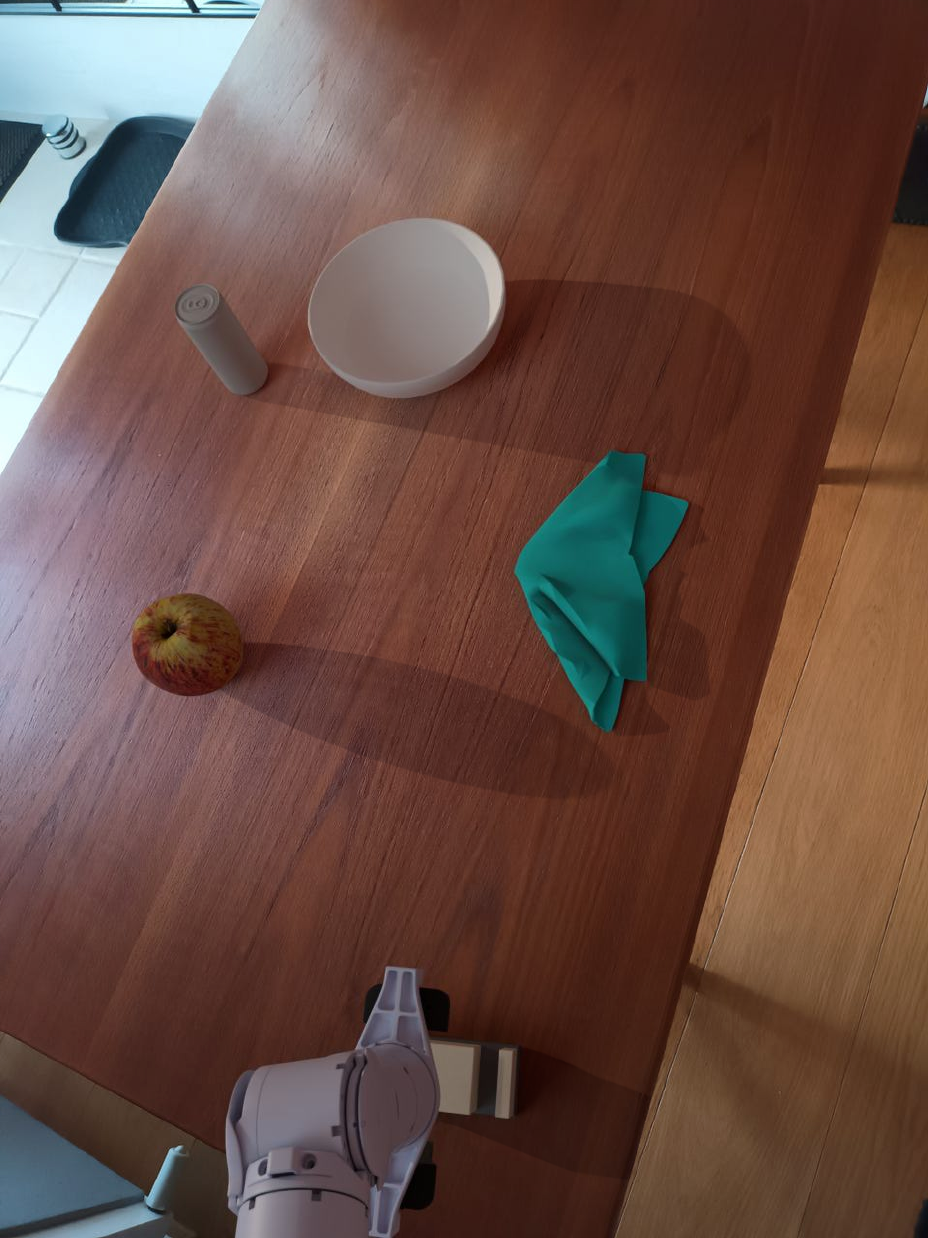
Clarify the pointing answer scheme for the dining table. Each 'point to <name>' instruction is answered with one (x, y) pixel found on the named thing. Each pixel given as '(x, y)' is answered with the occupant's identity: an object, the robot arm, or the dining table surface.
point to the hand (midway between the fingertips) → (423, 1082)
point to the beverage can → (220, 338)
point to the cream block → (477, 1076)
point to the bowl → (408, 307)
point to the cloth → (599, 578)
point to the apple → (187, 644)
